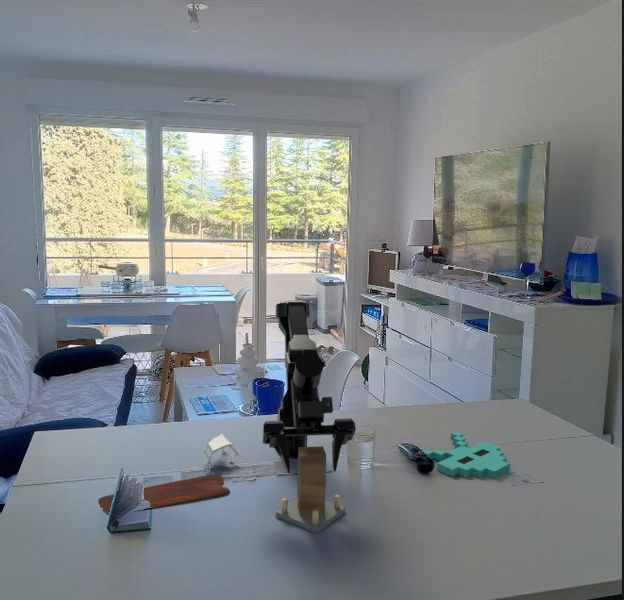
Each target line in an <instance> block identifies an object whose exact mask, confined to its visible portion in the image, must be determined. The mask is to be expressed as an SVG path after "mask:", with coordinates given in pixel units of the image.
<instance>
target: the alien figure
mask: <svg viewBox="0 0 624 600" xmlns="http://www.w3.org/2000/svg"><path fill="white" fill-rule="evenodd" d="M450 434H451V435H450V441H452V445H453V446H454V449H451V450H449V451H443V450H441V449H437V450H435V451H432V450H431V449H427V448H425V449H422V451H423V452H424V453H425V454H426V455H427V456H428V457H429V458H431V460H435V461H438V462H436V471H438V472H440V473H443V474H445V475H447V476H450V477H455V476H457V475H459V476H462V477H464V478H467V477H470V476H474V477H477V478H479V479H481V478H483V477H485V476H486V477H489V478H490V479H493V480H494V479H496V478H498V477H500V476H501V475H503V474H506V473H508V472H509V471H510V470H511V469H510V467H511V463H509V462H507V457H505V456H504V452H503V451H501V447H500V446H498V445H496V444H493V443H489V442H487V441H483V442H481V443H479V444H477V445H474V446H473V447H469V446H468V443H467V442H466V438H465V437H464V433H462V432H459V431H457V430H455V431H454V432H452V433H451V432H450Z"/></svg>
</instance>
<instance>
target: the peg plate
mask: <svg viewBox="0 0 624 600" xmlns="http://www.w3.org/2000/svg"><path fill="white" fill-rule="evenodd" d="M288 500H289V499H288V498H287V497H286V498H285V497H283V498H282V499H281V507H280V509H278V510H277V511H276V512H275V517H276V518H279V519H281V520H284V521H286V522H288V523H291V524H292V525H296V526H297V527H300V528H303V529H305V530H308V531H310V532H312V533H315V534H319V532H321V531H322V530H323V529H324V528H326V527H328V526H329V525H330V524H331V523H333V522H334V521H336V519H338V518H339V517H340V516H342V515H343V514H345V513H346V507H345V506H342V505H341V495H339V494H335V495H334V502H332V501H329V500H327V499H325V514H319V511H318V510H313V513H312V515H300V514H299V510H298V506H297V502H298V497H297V498H295V499H294V500H292V501H290V502H289V501H288ZM288 502H289V503H288Z"/></svg>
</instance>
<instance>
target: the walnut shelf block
mask: <svg viewBox="0 0 624 600" xmlns="http://www.w3.org/2000/svg"><path fill="white" fill-rule="evenodd" d="M326 481H327V453H326V450H325V448H324V446H323V445H321V446H307V447H298V458H297V498H298V502H297V506H298V510H299V514H300V515H312V513H313V510H318V511H319V514H325V500H326V488H327V487H326V486H327V485H326V483H327V482H326Z"/></svg>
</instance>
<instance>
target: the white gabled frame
mask: <svg viewBox="0 0 624 600" xmlns="http://www.w3.org/2000/svg"><path fill="white" fill-rule="evenodd" d="M225 448H230V449H231V450H232V451H233V452H234V453H233V454H232V455H231V456H229V457H228V460H229V461H231V462H232V463H233V464H236V462H235V461H233V459H234V458H235V457H238V456H239V455H240V453H238V451H237V450H236V449H235V448H234V446H233V443H231V442H230V441H229V440H228V438H226V436H224V434H223V433H221V434H219V435H217V436H215V437H214V438H212V439H211V440H210V441H209V442H208V443H207V446H206V447H205V448H204V449H203V452H204V454H205V455H206V457H207V458H208V459H207V461H206V463H205V465H206V466H210V468H212V467H213V468H214V465H213V464H210V461H211V460H212V457H213V454H214V453H216V452H218V451H220V450H221V451H222V452H223V453H224V454H226V453H227V451H225V450H224V449H225ZM208 449H209V450H210V456H209V454H208V452H207V450H208ZM213 468H212V469H213Z"/></svg>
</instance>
